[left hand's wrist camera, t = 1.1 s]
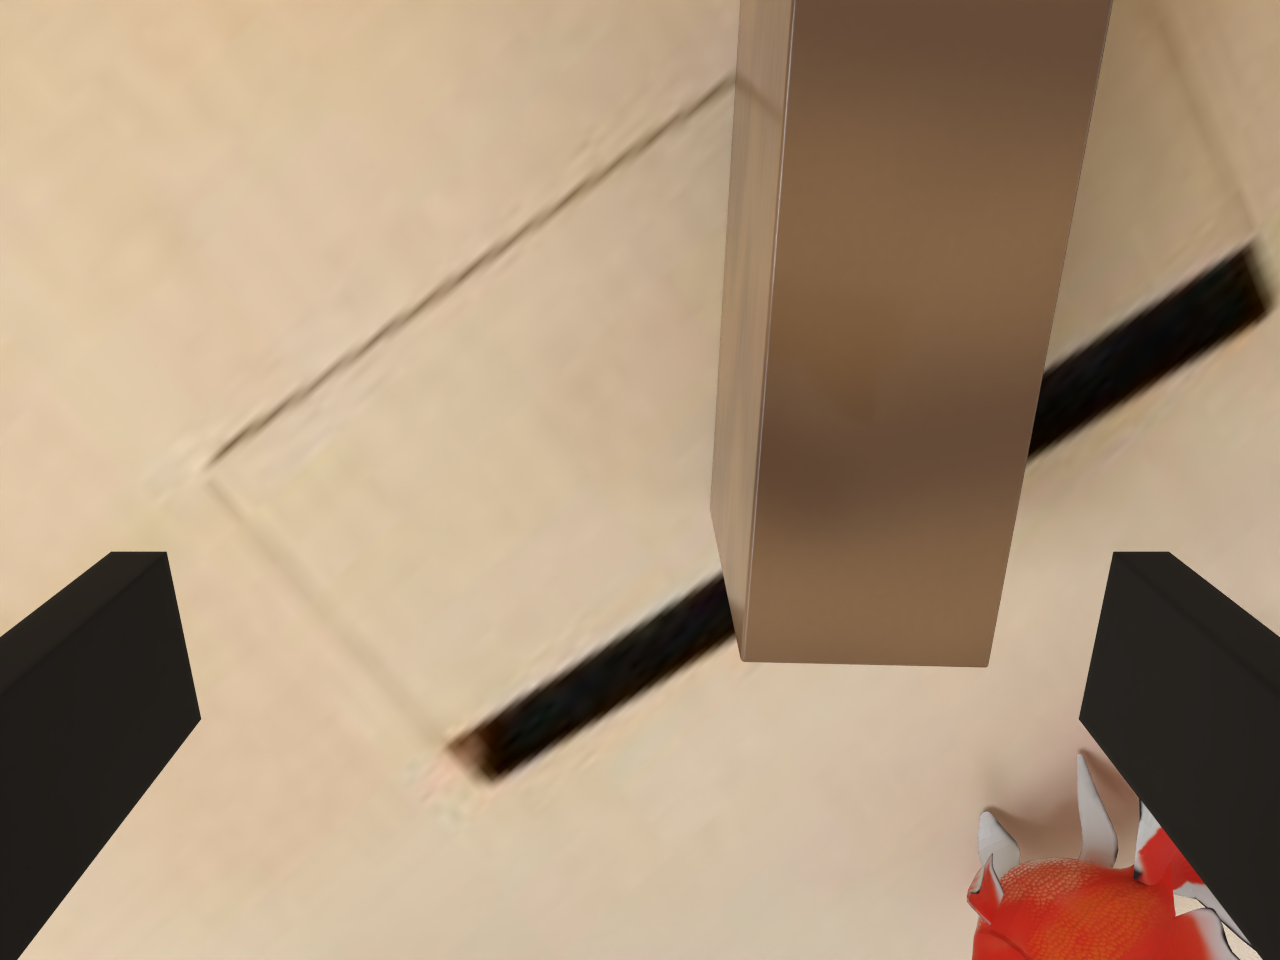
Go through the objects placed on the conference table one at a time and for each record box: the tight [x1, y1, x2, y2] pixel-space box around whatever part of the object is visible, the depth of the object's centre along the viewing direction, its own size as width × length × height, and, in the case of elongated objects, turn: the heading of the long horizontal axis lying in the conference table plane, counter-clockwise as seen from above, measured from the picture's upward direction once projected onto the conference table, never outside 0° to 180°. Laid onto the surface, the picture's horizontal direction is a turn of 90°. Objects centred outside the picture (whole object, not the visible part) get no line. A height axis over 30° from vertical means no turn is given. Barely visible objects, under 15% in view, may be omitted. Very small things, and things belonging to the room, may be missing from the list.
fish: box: [967, 754, 1256, 960], centre depth 31 cm, size 11×16×10 cm
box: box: [710, 0, 1113, 667], centre depth 21 cm, size 27×6×10 cm, turn 179°
